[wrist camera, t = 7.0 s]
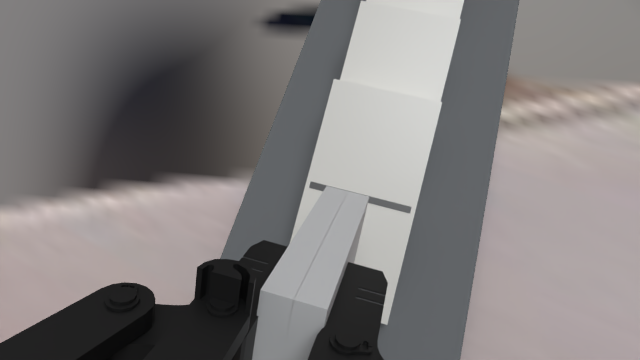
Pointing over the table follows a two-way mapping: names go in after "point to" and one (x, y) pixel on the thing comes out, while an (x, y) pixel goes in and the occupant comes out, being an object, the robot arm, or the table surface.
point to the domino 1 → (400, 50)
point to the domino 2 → (374, 168)
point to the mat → (438, 183)
